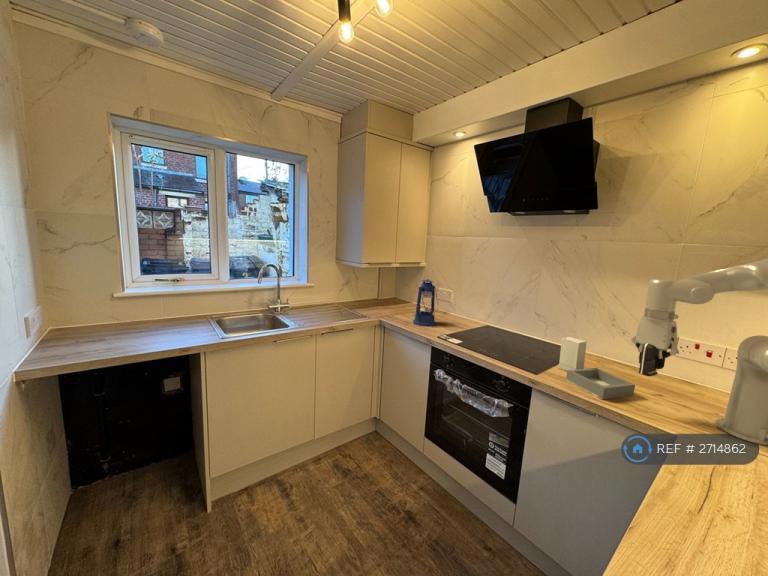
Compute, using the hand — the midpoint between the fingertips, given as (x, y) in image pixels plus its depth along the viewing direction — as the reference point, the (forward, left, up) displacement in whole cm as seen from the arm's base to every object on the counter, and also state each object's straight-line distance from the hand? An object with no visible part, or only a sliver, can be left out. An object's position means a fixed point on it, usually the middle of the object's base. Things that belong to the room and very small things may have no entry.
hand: (650, 365), depth 107 cm
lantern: (+113, +34, -16) cm, 120 cm away
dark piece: (0, 0, -4) cm, 4 cm away
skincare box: (+31, -2, -16) cm, 35 cm away
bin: (+15, +1, -16) cm, 22 cm away
